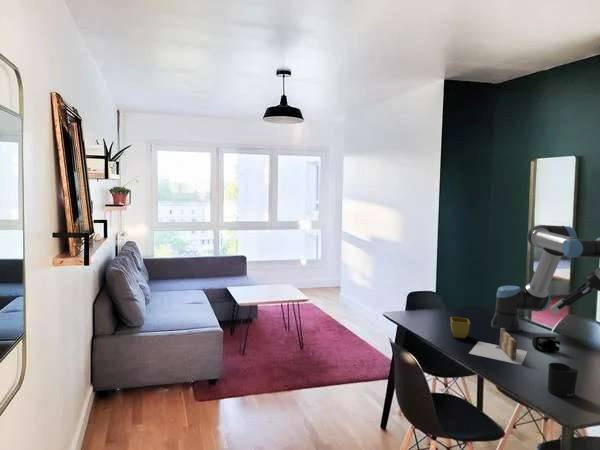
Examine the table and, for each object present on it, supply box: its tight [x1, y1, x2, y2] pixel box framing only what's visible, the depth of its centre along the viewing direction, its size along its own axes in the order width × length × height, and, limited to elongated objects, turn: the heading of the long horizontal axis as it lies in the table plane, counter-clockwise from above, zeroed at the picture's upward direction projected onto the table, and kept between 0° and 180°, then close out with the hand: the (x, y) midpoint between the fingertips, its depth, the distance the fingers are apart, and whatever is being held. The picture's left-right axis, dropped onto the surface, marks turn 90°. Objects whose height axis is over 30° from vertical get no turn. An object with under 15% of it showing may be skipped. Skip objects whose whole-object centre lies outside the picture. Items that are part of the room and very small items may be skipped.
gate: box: [499, 328, 518, 360], centre depth 215 cm, size 19×2×9 cm, turn 173°
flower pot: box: [449, 316, 471, 339], centre depth 239 cm, size 9×9×9 cm
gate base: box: [468, 341, 528, 365], centre depth 217 cm, size 22×22×1 cm
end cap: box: [531, 336, 561, 355], centre depth 224 cm, size 10×7×7 cm
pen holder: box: [547, 362, 579, 399], centre depth 175 cm, size 9×9×10 cm
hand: (552, 310), depth 202 cm, fingers open, 5 cm apart
